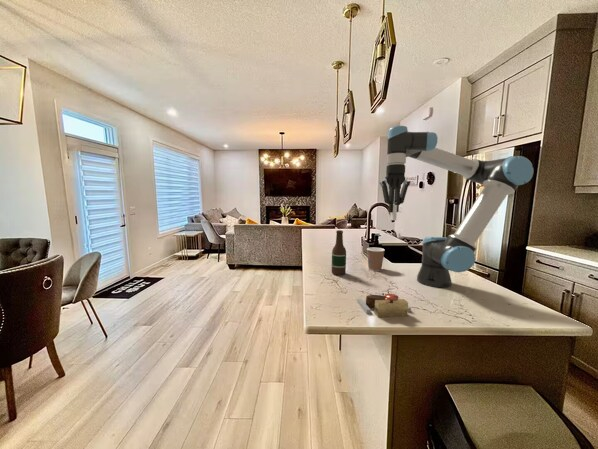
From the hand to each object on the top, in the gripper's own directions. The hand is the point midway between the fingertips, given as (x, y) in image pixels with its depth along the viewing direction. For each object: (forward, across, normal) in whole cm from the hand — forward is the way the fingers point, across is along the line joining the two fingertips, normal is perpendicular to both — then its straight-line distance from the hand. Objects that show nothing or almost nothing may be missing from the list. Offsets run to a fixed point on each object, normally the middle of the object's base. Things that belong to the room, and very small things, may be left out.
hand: (393, 219), depth 109 cm
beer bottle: (+33, +16, -28) cm, 46 cm away
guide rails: (+32, +10, +15) cm, 37 cm away
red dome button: (+32, +10, +22) cm, 40 cm away
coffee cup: (+33, -8, -35) cm, 48 cm away
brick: (+33, +12, +16) cm, 38 cm away
